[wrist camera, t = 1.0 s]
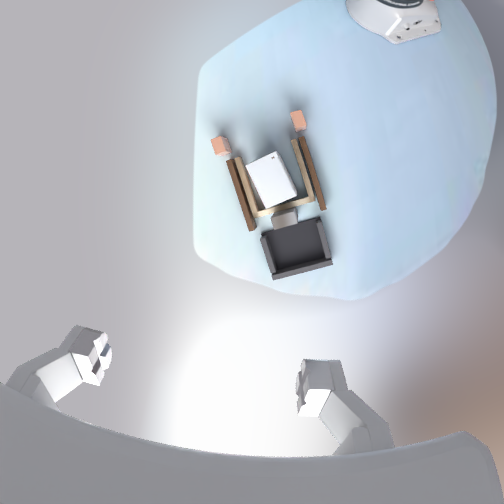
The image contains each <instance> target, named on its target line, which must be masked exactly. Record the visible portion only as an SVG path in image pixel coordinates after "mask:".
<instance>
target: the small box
mask: <svg viewBox="0 0 504 504" xmlns="http://www.w3.org/2000/svg"><path fill="white" fill-rule="evenodd" d="M245 167H246V169H247V171H248V173H249V175H250V177H251V179H252V181H253V184H254V186H255V188H256V190H257V192H258V194H259V196H260V198H261V200H262V202H263V204H264V206H265V209H267V208H270V207H272V206H274V205H277V204H279V203H281V202H284V201H286V200H288V199H291V198H293V197H295V196H297V190H296V188H295V185H294V183H293V181H292V179H291V177H290V175H289V173H288V171H287V168H286V166H285V164H284V162H283V160H282V158H281V156H280V154H279V153H278V152H276V151H274V152H272V153H270V154H268V155H266V156H264V157H262V158H259V159H257V160H255V161H253V162H251V163H249V164H247V165H245Z"/></svg>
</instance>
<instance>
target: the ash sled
mask: <svg viewBox="0 0 504 504" xmlns="http://www.w3.org/2000/svg"><path fill="white" fill-rule="evenodd" d="M291 143H292V146H293V149H294V152H295V155H296V158H297V161H298V164H299V167H300V170H301V173H302V177H303V180H304V183H305V186H306V189H307V193H308V196H307V197H304V198H300V199H297V200H293V201H290V202H287V203H283V204H280V205H276V206H273V207H270V208H267V209H263V210H260V211H259V209H258V206H257V203H256V200H255V197H254V194H253V191H252V188H251V185H250V182H249V179H248V176H247V173H246V170H245V167H244V164H243V161H242V158H241V157H237V158H234V159H235V162H236V165H237V168H238V171H239V174H240V177H241V180H242V183H243V186H244V189H245V192H246V195H247V198H248V202H249V205H250V208H251V211H252V214H253V217H254V219H255V218H258V217H261V216H265V215H268V214H271V213H274V214H273V215H272V217H271V221H272V224H273V228H274V230H276V229H279V228H283V227H287V226H290V225H294V224H297V223H298V214H297V210H296V207H295V206H299V205H302V204H306V203H309V202H313V201H315V197H314V194H313V190H312V187H311V184H310V181H309V177H308V174H307V171H306V168H305V165H304V162H303V158H302V155H301V152H300V149H299V146H298V143H297V140H296V139H293V140H291Z"/></svg>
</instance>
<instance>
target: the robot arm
mask: <svg viewBox="0 0 504 504" xmlns="http://www.w3.org/2000/svg"><path fill="white" fill-rule="evenodd" d="M346 7H347V10H348V12H349V14H350V15H351V17H352V18H353V19H354V20H355V21H356V22H357V23H358V24H359V25H361V26H362V27H364V28H365V29H367V30H369V31H371V32H374V33H376V34H379V35H381V36H383V37H384V38H386V39H387V40H388V41H390V42H391V43H393V44H400V43H403V42H406V41H409V40H413V39H416V38H420V37H423V36H427V35H431V34H435V33H438V32H440V30H441V23H440V19H439V17H438V10H437V7H436V5H435V3H434V1H433V0H346ZM398 37H399V38H400V39H399V38H398ZM107 341H108V336H107V334H106V333H104V332H101V331H97V330H93V329H90V328H85V327H81V326H78V325H76V326H74V327H73V328H72V330H71V331H70V333H69V334H68V335H67V337H66V338H65V340H64V341H63V343H62V344H61V345H60V347H59V348H54V349H52V350H50V351H48V352H46V353H44V354H42V355H40V356H38V357H36V358H34V359H32V360H30V361H28V362H26V363H24V364H22V365H20V366H18V367H17V368H16V370H15V371H14V373H13V374H12V376H11V377H10V379H9V380H8V382H7V383H6V385H4V384H3V383H1V382H0V504H504V499H503V494H502V489H501V484H500V480H499V476H498V473H497V469H496V466H495V463H494V460H493V457H492V454H491V452H490V450H489V448H488V447H487V446H486V445H485V444H484V443H482V442H481V441H480V440H479V439H477V438H476V437H475V436H473V435H472V434H470V433H468V432H466V431H461V432H456V433H453V434H450V435H447V436H443V437H439V438H436V439H432V440H428V441H424V442H419V443H415V444H410V445H406V446H401V447H396V448H395V447H394V443H393V439H392V436H391V432H390V429H389V425H388V423H387V422H386V421H385V420H384V419H383V418H381V417H380V416H379V415H378V414H377V413H376V412H375V411H374V410H373V409H371V408H370V407H369V406H368V405H367V404H366V403H365V402H364V401H363V400H362V399H360V398H359V397H358V396H357V395H356V394H355V393H354V392H353V391H352V390H348V388H347V384H346V380H345V376H344V372H343V368H342V365H341V362H340V360H310V359H303V361H302V363H301V371H300V372H299V373H298V376H297V381H296V394H297V395H298V396H299V399H298V401H297V407H298V415H301V416H318V417H319V418H320V420H321V421H322V422H323V423H324V425H325V426H326V427H327V429H328V430H329V431H330V433H331V434H332V435H333V436H334V438H335V439H336V440H337V441H338V443H339V444H340V446H339V447H338V448H337V450H336V451H335V452H334V453H333V455H332V456H317V457H262V456H246V455H233V454H223V453H214V452H207V451H201V450H193V449H188V448H182V447H176V446H171V445H166V444H162V443H157V442H153V441H148V440H144V439H140V438H136V437H133V436H129V435H125V434H122V433H118V432H115V431H112V430H109V429H105V428H102V427H99V426H96V425H93V424H90V423H87V422H85V421H82V420H79V419H77V418H74V417H72V416H69V415H67V414H64V413H62V412H61V411H60V409H59V408H58V406H57V405H56V403H55V402H57V401H58V400H59V399H60V398H62V397H63V396H65V395H66V394H67V393H69V392H70V391H71V390H73V389H74V388H75V387H77V386H78V385H79V384H81V383H82V382H83V381H85V382H89V383H92V384H96V385H100V383H101V381H102V379H103V377H104V375H105V373H104V369H106V368H108V367H109V365H110V363H111V359H112V350H111V347H110V346H109V344H108V343H107Z"/></svg>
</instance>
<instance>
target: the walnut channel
mask: <svg viewBox="0 0 504 504" xmlns="http://www.w3.org/2000/svg"><path fill="white" fill-rule="evenodd" d="M299 142H300V145H301V148H302V151H303V154H304V157H305V160H306V163H307V167H308V170H309V173H310V176H311V179H312V183H313V186H314V189H315V192H316V196H317V199H318V203H319V206H320V209H321V211H323V210H326V206H325V202H324V199H323V195H322V192H321V188H320V185H319V182H318V178H317V175H316V172H315V169H314V166H313V162H312V159H311V156H310V153H309V150H308V147H307V144H306V141H305V138H304V136H302V137H299ZM226 163H227V166H228V169H229V172H230V175H231V178H232V181H233V184H234V187H235V190H236V193H237V196H238V199H239V202H240V205H241V208H242V211H243V214H244V217H245V220H246V223H247V226H248V229H249V231H253V230H255V229H256V224H255V221H254V218H253V215H252V211H251V208H250V205H249V202H248V199H247V196H246V193H245V190H244V187H243V184H242V181H241V178H240V175H239V172H238V169H237V166H236V163H235V160H233V159H230V160H227V161H226Z"/></svg>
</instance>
